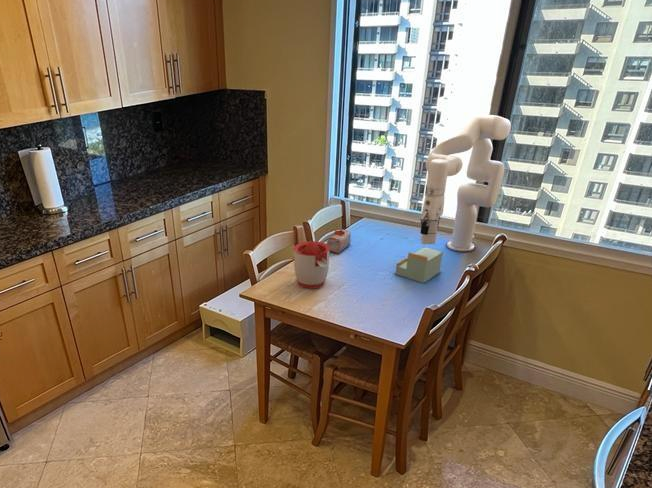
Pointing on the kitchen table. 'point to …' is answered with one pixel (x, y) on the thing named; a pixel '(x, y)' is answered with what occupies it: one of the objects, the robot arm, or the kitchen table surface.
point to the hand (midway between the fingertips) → (429, 231)
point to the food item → (339, 241)
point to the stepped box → (420, 265)
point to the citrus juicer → (311, 263)
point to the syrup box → (431, 231)
